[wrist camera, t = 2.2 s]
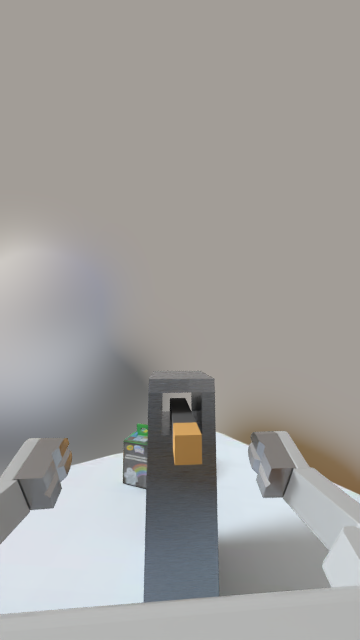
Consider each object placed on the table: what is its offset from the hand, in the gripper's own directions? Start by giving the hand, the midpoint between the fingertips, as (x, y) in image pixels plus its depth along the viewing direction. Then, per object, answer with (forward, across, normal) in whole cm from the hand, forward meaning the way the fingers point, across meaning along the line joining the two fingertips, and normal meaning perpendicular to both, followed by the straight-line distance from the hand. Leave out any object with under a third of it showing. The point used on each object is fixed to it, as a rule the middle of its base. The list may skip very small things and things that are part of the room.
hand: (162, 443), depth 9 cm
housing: (+8, +2, -42) cm, 43 cm away
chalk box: (+32, -6, -56) cm, 65 cm away
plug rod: (+16, +2, -19) cm, 25 cm away
